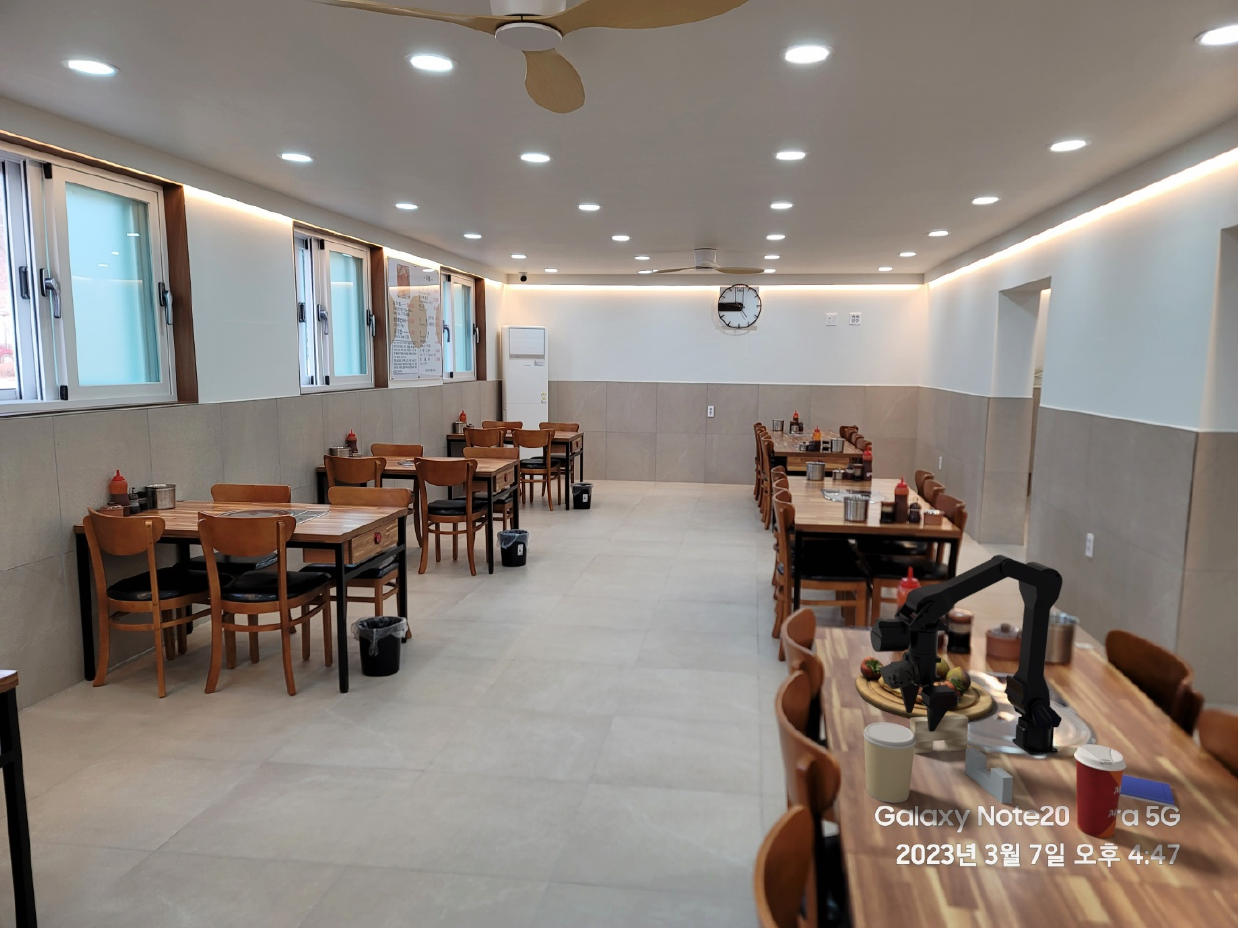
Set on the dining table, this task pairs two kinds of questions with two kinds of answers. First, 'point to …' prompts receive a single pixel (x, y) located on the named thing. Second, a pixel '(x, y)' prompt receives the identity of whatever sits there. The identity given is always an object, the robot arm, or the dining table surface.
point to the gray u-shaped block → (989, 776)
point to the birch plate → (940, 733)
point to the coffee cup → (888, 761)
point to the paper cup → (1098, 789)
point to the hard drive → (1146, 791)
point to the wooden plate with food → (880, 695)
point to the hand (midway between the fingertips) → (919, 721)
